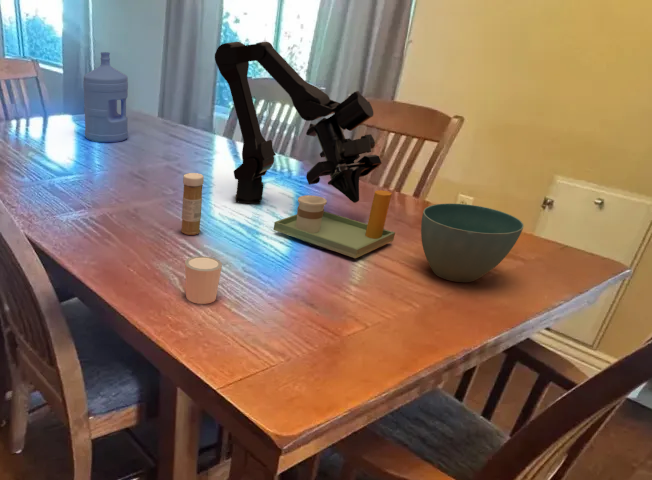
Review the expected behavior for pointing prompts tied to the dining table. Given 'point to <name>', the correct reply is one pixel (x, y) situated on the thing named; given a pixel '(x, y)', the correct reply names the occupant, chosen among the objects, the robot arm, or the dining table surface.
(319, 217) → the beige banded cup
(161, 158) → the dining table surface
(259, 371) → the dining table surface
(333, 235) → the tray
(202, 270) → the peach tapered cup
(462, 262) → the dark green bowl
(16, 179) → the dining table surface
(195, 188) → the sprinkles bottle
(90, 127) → the water jug
